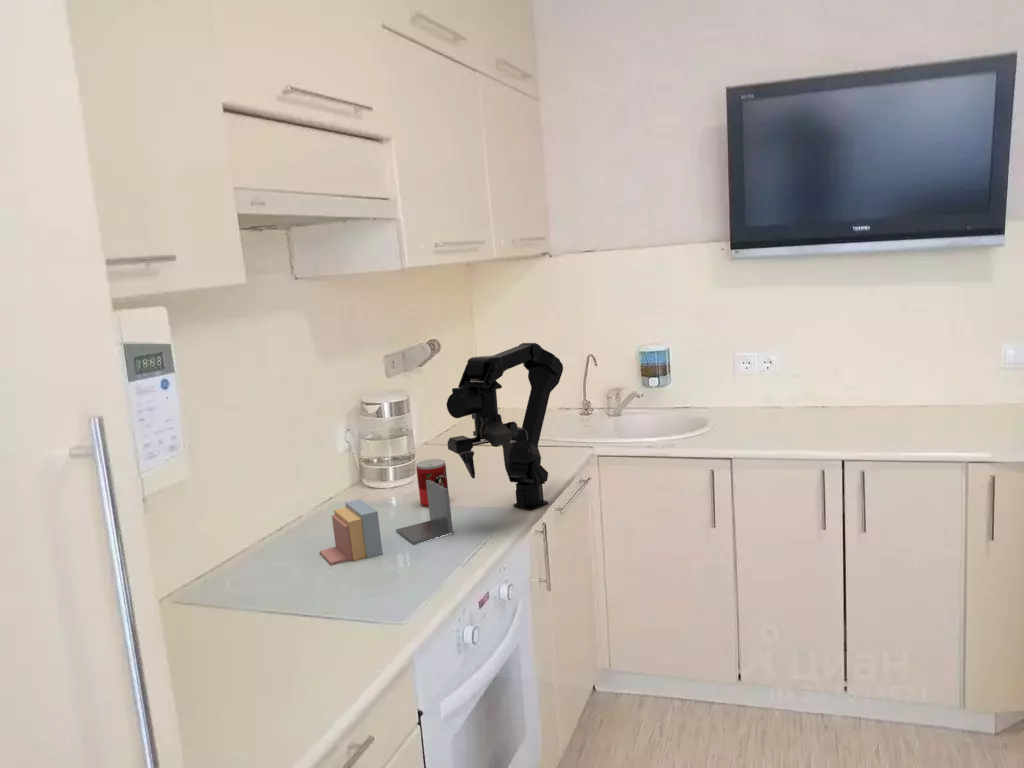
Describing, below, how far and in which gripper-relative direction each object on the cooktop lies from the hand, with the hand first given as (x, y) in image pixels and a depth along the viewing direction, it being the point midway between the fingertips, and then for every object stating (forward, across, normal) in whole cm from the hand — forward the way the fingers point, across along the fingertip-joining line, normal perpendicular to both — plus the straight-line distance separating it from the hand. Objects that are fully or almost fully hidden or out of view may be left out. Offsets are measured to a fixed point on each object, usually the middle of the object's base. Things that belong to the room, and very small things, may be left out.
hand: (490, 474), depth 197 cm
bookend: (+13, -16, +6) cm, 21 cm away
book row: (+13, -34, +5) cm, 37 cm away
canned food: (+12, -5, +26) cm, 29 cm away
